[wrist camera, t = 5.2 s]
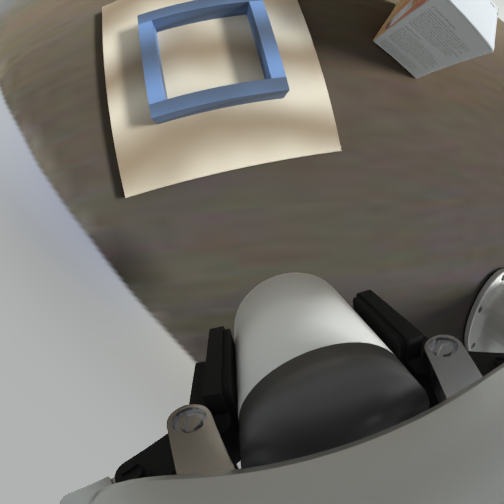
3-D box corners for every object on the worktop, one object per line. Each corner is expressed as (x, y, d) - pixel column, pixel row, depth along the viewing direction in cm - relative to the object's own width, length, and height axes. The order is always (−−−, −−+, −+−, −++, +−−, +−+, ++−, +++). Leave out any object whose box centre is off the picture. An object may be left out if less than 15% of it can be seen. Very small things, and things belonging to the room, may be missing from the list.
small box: (395, 3, 17) (453, -40, 6) (435, 38, 18) (500, 8, 8) (370, 41, 18) (439, -10, 8) (415, 80, 19) (495, 52, 9)
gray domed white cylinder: (346, 354, 13) (412, 459, 6) (247, 380, 13) (262, 506, 6) (338, 260, 12) (444, 345, 5) (221, 287, 11) (213, 416, 5)
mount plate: (336, 151, 20) (352, 148, 17) (129, 197, 19) (115, 199, 17) (282, -24, 15) (289, -42, 13) (105, 11, 15) (94, -4, 12)
